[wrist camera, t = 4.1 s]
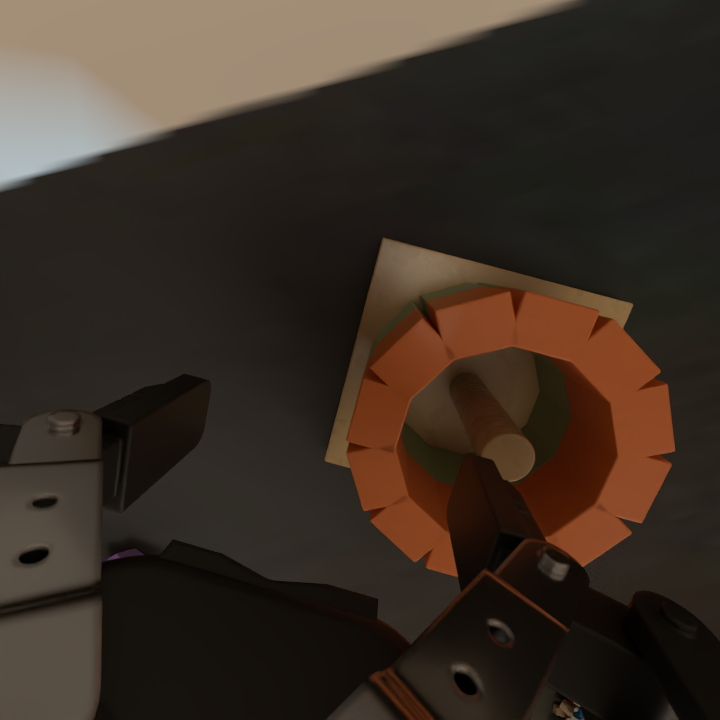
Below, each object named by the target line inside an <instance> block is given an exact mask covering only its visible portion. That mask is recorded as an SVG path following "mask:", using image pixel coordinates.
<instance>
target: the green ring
mask: <svg viewBox="0 0 720 720" xmlns="http://www.w3.org/2000/svg"><path fill="white" fill-rule="evenodd" d="M481 286H487V287H492V288H496V287H497V285H491V284H485V283H477V284H472V283H463V284H459V285H456V286H452V287H448V288H445V289H441V290H437V291H433V292H430V293H426V294H422V295H420V298H421V302H422V306H423V311H424V312H423V311H422V310H421V309H420V308H419V306H418V305H417V304H416V303H415V302H414V301H410V302H409V303H408V304H407V305H406V306H405V307H404V308H403V309H402V310H401V311H400V312H399V313H398V314H397V315H396V316H395V317H394V318H393V319H392V320H391V321H390V322H389V323H388V324H387V325H386V326H385V327H384V328H383V329H381V330H380V331H379V333H378V337H377V341H373V343H372V347H371V350H370V354H369V357H373V353H374V349H375V346H376V345H377V344H378V343H379V342H380V341H381V340H382V339H383V338H384V337H385V336H386V335H387V334H388V333H389V332H390V331H391V330H392V329H393V328H394V327H395V326H396V325H397V324H398V323H400V322H401V321H402V320H403V319H404V318H405V317H406V316H407V315H408V314H409V313H410V312H411V311H412V310H413V309H414V308H415V307H416V308H418V309H419V310H420V311H421V312H422V314H423V315H424V316H425V317H426V318H427V319H428V320H429V321H430V318H429V314H428V310H427V305H426V301H428V300H432V299H436V298H439V297H443V296H447V295H451V294H455V293H458V292H462V291H466V290H470V289H473V288H477V287H481ZM530 352H531V353H532V354H533V355H534V359H535V365H536V370H537V376H538V381H539V386H540V393H539V395H538V398H537V400H536V403H535V405H534V408H533V410H532V413H531V415H530V418H529V420H528V423H527V425H525V426H524V427H523V428H522V429H521V431H522V433H523V434H524V435H525V436H526V438H527V439H528V440H529V442H530V443H531V444H532V446H533V448H534V451H535V462H534V465H533V467H532V469H531V471H530V472H529V473H528V474H527V475H526V476H525V477H523V478H521V479H519V480H517V481H513V482H510V483H511V484H517V483H521V482H522V481H523V480H525V479H526V478H527V477H529V476H530V475H531V474H532V473H534V472H535V471H536V470H538V469H539V468H540V467H542V466H543V465H544V464H545V463H547V462H548V461H549V460H551V459H552V458H553V457H554V456H555V454H556V451H557V449H558V447H559V444H560V442H561V440H562V437H563V435H564V433H565V430H566V428H567V426H568V423H569V421H570V419H571V413H570V407H569V402H568V396H567V390H566V384H565V378H564V374H563V373H562V372H561V371H560V370H559V369H558V368H557V367H556V366H555V365H554V363H553V362H552V361H551V360H550V359H549V358H548V357H547V356H546V355H543V354H539V353H535V352H532V351H530ZM401 435H402V438H403V442H404V446H405V450H406V452H407V453H408V454H409V455H410V456H411V457H412V458H413V459H414V460H415V461H416V462H417V463H418V464H419V465H420V466H421V467H422V468H423V469H424V470H426V471H427V472H428V473H429V474H430V475H431V476H432V477H433V478H434V479H435V480H436V481H440V482H443V483H447V484H450V485H454V483H455V480H456V477H457V474H458V472H459V469H460V466H461V463H462V461H463V458H464V457H465V455H466V454H463V455H462V454H459V453H455V452H451V451H448V450H444V449H440V448H437V447H433V446H430V445H428V444H427V443H426V442H425V441H424V440H423V439H422V438H421V437H420V436H419V435H418V434H417V433H416V432H415V431H414V430H413V429H411V428H410V427H409V426H408V425H407V424H406V423H405V422H404V424H403V427H402V431H401ZM470 454H474V455H476V453H475V452H473V453H470Z"/></svg>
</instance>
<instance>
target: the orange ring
mask: <svg viewBox="0 0 720 720" xmlns="http://www.w3.org/2000/svg"><path fill="white" fill-rule="evenodd" d="M426 305H427V310H428V314H429V318H430V321H429V320H428V319H427V318H426V317H425V316H424V315H423V314H422V312H421V311H420V310H419V309H418V308H416V307H415V308H414V309H413V310H412V311H411V312H410V313H409V314H408V315H407V316H406V317H405V318H404V319H403V320H402V321H401V322H400V323H398V324H397V325H396V326H395V327H394V328H393V329H392V330H391V331H390V332H389V333H388V334H387V335H386V336H385V337H384V338H383V339H382V340H381V341H380V342H379V343H378V344H377V345H376V346H375V349H374V353H373V357H369V358H368V361H367V365H366V368H365V372H364V375H363V379H362V383H361V386H360V390H359V394H358V397H357V401H356V405H355V408H354V412H353V416H352V419H351V423H350V427H349V430H348V434H347V438H346V441H347V442H349V445H348V449H347V452H346V455H347V458H348V462H349V465H350V468H351V472H352V475H353V478H354V481H355V485H356V488H357V491H358V494H359V498H360V501H361V504H362V508H363V510H364V511H367V510H371V516H370V521H371V522H372V523H373V524H374V525H375V526H376V527H377V528H378V529H379V530H380V531H381V532H382V533H383V534H385V535H386V536H387V537H388V538H389V539H390V540H391V541H392V542H393V543H394V544H395V545H396V546H398V547H399V548H400V549H401V550H402V551H403V552H404V553H405V554H406V555H407V556H408V557H409V558H411V559H412V560H413V561H414V562H416V561H417V560H418V559H420V558H421V557H422V556H424V558H425V567H426V568H428V569H431V570H435V571H438V572H442V573H445V574H449V575H453V576H456V577H458V574H457V569H456V564H455V559H454V554H453V549H452V544H451V539H450V534H449V529H448V524H447V518H446V512H447V504H448V500H449V497H450V494H451V491H452V488H453V486H454V485H450V484H447V483H443V482H440V481H436V480H435V479H434V478H433V477H432V476H431V475H430V474H429V473H428V472H427V471H426V470H424V469H423V468H422V467H421V466H420V465H419V464H418V463H417V462H416V461H415V460H414V459H413V458H412V457H411V456H410V455H409V454H408V453H407V452H406V450H405V446H404V442H403V438H402V435H401V431H402V427H403V424H404V421H405V418H406V415H407V411H408V408H409V405H410V402H411V399H412V398H413V397H414V396H415V395H416V394H417V393H419V392H420V391H421V390H422V389H423V388H424V387H425V386H426V385H427V384H428V383H430V382H431V381H432V380H433V379H434V378H435V377H436V376H437V375H438V374H440V373H441V372H442V371H443V370H444V369H445V368H446V367H447V366H448V365H450V364H451V363H452V362H453V361H454V360H459V359H463V358H467V357H471V356H475V355H479V354H483V353H488V352H492V351H496V350H500V349H504V348H508V347H512V346H513V347H517V348H520V349H524V350H528V351H532V352H535V353H539V354H543V355H546V356H547V357H548V358H549V359H550V360H551V361H552V362H553V363H554V365H555V366H556V367H557V368H558V369H559V370H560V371H561V372H562V373H563V374H564V378H565V384H566V390H567V396H568V402H569V407H570V413H571V419H570V421H569V423H568V426H567V428H566V430H565V433H564V435H563V437H562V440H561V442H560V444H559V447H558V449H557V451H556V454H555V456H554V457H553V458H552V459H551V460H549V461H548V462H547V463H545V464H544V465H543V466H542V467H540V468H539V469H538V470H536V471H535V472H534V473H532V474H531V475H530V476H529V477H527V478H526V479H525V480H523V481H522V482H521V483H517V484H512V485H513V486H514V487H515V488H516V489H517V490H518V491H519V492H520V493H521V495H522V497H523V499H524V501H525V503H526V506H527V507H528V508H529V510H530V512H531V513H532V517H534V519H535V521H536V523H537V524H538V526H539V528H540V530H541V532H542V534H543V535H544V537H545V539H546V541H547V542H549V543H551V544H553V545H555V546H557V547H559V548H561V549H562V550H564V551H565V552H567V553H568V554H569V555H571V556H572V557H573V558H574V559H575V560H577V561H578V562H579V564H580V565H581V566H582V567H583V566H585V565H586V564H588V563H589V562H591V561H592V560H594V559H595V558H597V557H598V556H600V555H601V554H603V553H604V552H606V551H607V550H608V549H610V548H611V547H613V546H614V545H616V544H617V543H619V542H620V541H622V540H623V539H625V538H626V537H628V536H629V535H631V534H632V532H631V530H630V529H629V528H628V527H627V526H626V525H625V523H624V522H623V521H622V520H621V519H620V518H624V519H627V520H631V521H635V522H638V523H642V522H643V520H644V518H645V516H646V514H647V512H648V510H649V508H650V506H651V504H652V502H653V501H654V499H655V497H656V495H657V493H658V491H659V489H660V487H661V485H662V483H663V481H664V479H665V477H666V475H667V473H668V471H669V469H670V468H671V466H672V464H671V463H670V462H669V461H667V460H666V459H664V458H663V457H661V456H660V455H659V454H664V453H669V452H674V451H675V445H674V436H673V428H672V419H671V410H670V401H669V392H668V385H667V384H666V383H664V382H661V381H659V380H657V379H654V377H655V376H657V375H658V374H659V373H660V372H661V371H660V369H659V368H658V367H657V366H656V365H655V364H654V363H653V362H652V361H651V359H650V358H649V357H648V356H647V355H646V354H645V353H644V352H643V351H642V349H641V348H640V347H639V346H638V345H637V344H636V343H635V342H634V341H633V340H632V338H631V337H630V336H629V335H628V334H627V333H626V332H625V331H624V330H623V329H622V327H621V326H620V325H619V324H618V323H617V322H616V321H615V320H614V319H612V318H608V317H604V316H599V312H600V311H599V310H597V309H594V308H590V307H586V306H582V305H579V304H575V303H571V302H567V301H564V300H560V299H556V298H552V297H549V296H545V295H541V294H537V293H534V292H530V291H525V290H520V289H514V288H508V287H502V286H497V287H496V288H492V287H487V286H481V287H477V288H473V289H470V290H466V291H462V292H458V293H455V294H451V295H447V296H443V297H439V298H436V299H432V300H428V301H426ZM619 517H620V518H619Z"/></svg>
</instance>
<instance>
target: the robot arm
mask: <svg viewBox="0 0 720 720" xmlns="http://www.w3.org/2000/svg"><path fill="white" fill-rule="evenodd" d="M210 392H211V383H210V381H209V380H206V379H202V378H199V377H195V376H191V375H188V374H183V375H181V376H179V377H177V378H175V379H173V380H171V381H169V382H167V383H165V384H158V385H153V386H148V387H144V388H142V389H140V390H138V391H136V392H134V393H132V395H130V394H129V395H127V396H125V397H123V398H122V399H121V400H117V401H115V402H113V403H111V404H108V405H106V406H104V407H102V408H100V409H98V410H96V411H94V412H92V413H91V412H87V411H82V410H72V409H63V410H52V411H47V412H42V413H39V414H36V415H34V416H31V417H30V418H28V419H27V420H26V421H25V422H24V423H23V425H22V426H15V425H5V424H0V720H530V718H531V716H532V714H533V711H534V709H535V707H536V705H537V703H538V700H539V698H540V696H541V694H542V691H543V689H544V687H545V685H546V686H548V687H550V688H551V689H553V690H555V691H556V692H558V693H560V694H561V695H563V696H565V697H566V698H568V699H570V700H571V701H573V702H575V703H576V704H578V705H580V708H581V711H582V714H583V717H584V720H720V642H719V641H718V640H717V638H716V637H715V636H714V635H713V633H712V632H711V631H710V630H709V629H708V628H707V627H706V626H705V625H704V624H703V623H702V622H701V621H700V620H699V619H697V618H696V617H695V616H694V615H693V614H691V613H690V612H689V611H687V610H686V609H684V608H683V607H681V606H680V605H678V604H677V603H675V602H673V601H671V600H670V599H668V598H666V597H664V596H661V595H659V594H656V593H653V592H650V591H637V592H636V593H635V594H634V595H633V597H632V599H631V601H630V603H629V605H628V606H626V605H624V604H622V603H620V602H618V601H616V600H614V599H612V598H610V597H608V596H606V595H604V594H602V593H600V592H598V591H596V590H594V589H592V588H590V587H589V577H588V575H587V573H586V571H585V570H584V568H583V567H582V566H581V565H580V564H579V562H578V561H577V560H575V559H574V558H573V557H572V556H571V555H569V554H568V553H567V552H565V551H564V550H562V549H561V548H559V547H557V546H555V545H553V544H551V543H549V542H547V541H546V539H545V537H544V535H543V534H542V532H541V530H540V528H539V526H538V524H537V523H536V521H535V519H534V517H532V513H531V512H530V510H529V508H528V507H527V506H526V503H525V501H524V499H523V497H522V495H521V493H520V492H519V491H518V490H517V489H516V488H515V487H514V486H513V485H512V484H511V483H510V482H509V481H507V480H504V479H503V478H502V476H501V474H500V472H499V470H498V468H497V466H496V464H495V462H494V461H493V460H492V459H488V458H485V457H481V456H478V455H474V454H470V453H467V454H466V455H465V457H464V458H463V461H462V463H461V466H460V469H459V472H458V474H457V477H456V480H455V483H454V486H453V488H452V491H451V494H450V497H449V500H448V504H447V512H446V518H447V524H448V529H449V534H450V539H451V544H452V549H453V554H454V559H455V564H456V569H457V574H458V579H459V584H460V589H461V593H460V594H459V595H458V596H457V597H456V598H455V599H454V601H453V602H452V603H451V604H450V605H449V606H448V607H447V608H446V609H445V610H444V611H443V612H442V613H441V614H440V615H439V616H438V617H437V618H436V619H435V620H434V621H433V622H432V623H431V624H430V626H429V627H428V628H427V629H426V630H425V631H424V632H423V633H422V634H421V635H420V636H419V637H418V638H417V639H416V640H415V641H414V642H413V643H412V644H410V643H409V642H408V641H407V640H406V639H405V638H404V637H403V636H402V635H401V634H399V633H398V632H397V631H396V630H395V629H393V628H392V627H390V626H389V625H387V624H386V623H385V622H383V621H381V620H379V619H378V618H377V610H378V599H376V598H373V597H369V596H366V595H362V594H359V593H356V592H352V591H349V590H345V589H342V588H338V587H335V586H331V585H328V584H316V583H301V582H286V581H274V580H269V579H267V578H265V577H263V576H261V575H259V574H258V573H256V572H254V571H252V570H251V569H249V568H247V567H245V566H243V565H242V564H240V563H238V562H236V561H234V560H233V559H231V558H229V557H227V556H226V555H224V554H221V553H218V552H214V551H211V550H207V549H204V548H201V547H197V546H194V545H190V544H187V543H183V542H180V541H176V540H172V541H171V542H170V544H169V545H168V546H167V547H166V548H165V550H164V551H163V552H162V553H161V555H137V556H128V557H122V558H117V559H111V560H108V561H104V562H101V552H102V508H104V509H108V510H111V511H115V512H118V513H122V512H123V511H124V510H126V509H127V508H128V507H129V506H130V505H131V504H132V503H133V502H134V501H136V500H137V499H138V498H139V497H140V496H141V495H142V494H143V493H145V492H146V491H147V490H148V489H149V488H150V487H151V486H152V485H153V484H155V483H156V482H157V481H158V480H159V479H160V478H161V477H162V476H164V475H165V474H166V473H167V472H168V471H169V470H170V469H171V468H172V467H174V466H175V465H176V464H177V463H178V462H179V461H180V460H181V459H183V458H184V457H185V456H186V455H187V454H188V453H189V452H190V451H191V450H193V449H194V448H195V447H196V446H197V444H198V443H199V441H200V439H201V437H202V434H203V431H204V427H205V422H206V416H207V410H208V404H209V398H210Z"/></svg>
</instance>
